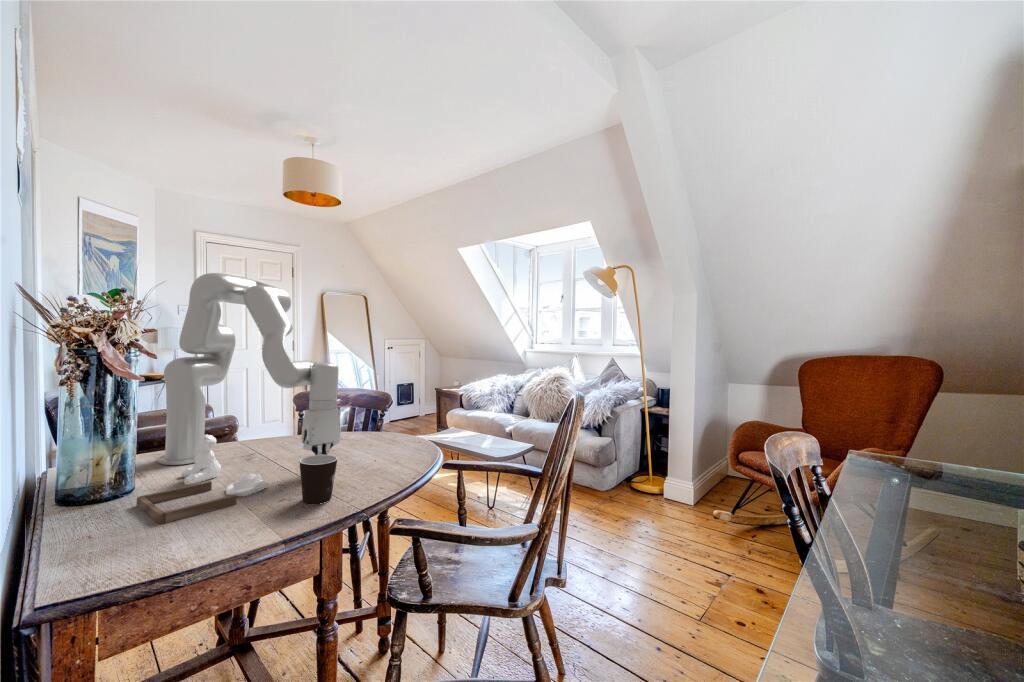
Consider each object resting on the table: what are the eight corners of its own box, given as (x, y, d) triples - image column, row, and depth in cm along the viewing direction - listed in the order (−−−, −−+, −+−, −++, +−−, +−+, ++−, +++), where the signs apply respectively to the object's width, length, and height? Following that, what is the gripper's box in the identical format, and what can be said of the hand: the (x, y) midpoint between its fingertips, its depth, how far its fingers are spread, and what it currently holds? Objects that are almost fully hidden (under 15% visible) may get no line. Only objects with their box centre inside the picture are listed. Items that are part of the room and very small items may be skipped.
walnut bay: (136, 505, 98) (136, 497, 98) (209, 489, 110) (210, 481, 110) (159, 524, 89) (160, 515, 89) (236, 504, 101) (236, 495, 101)
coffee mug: (321, 508, 101) (323, 466, 101) (289, 504, 102) (291, 462, 102) (349, 491, 112) (351, 453, 112) (320, 487, 114) (322, 450, 114)
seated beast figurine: (180, 476, 118) (181, 433, 118) (217, 470, 124) (219, 429, 123) (184, 486, 111) (186, 440, 111) (224, 479, 117) (226, 435, 117)
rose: (267, 478, 107) (221, 482, 104) (267, 496, 107) (221, 500, 104) (272, 466, 117) (230, 469, 113) (271, 482, 117) (229, 486, 113)
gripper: (338, 400, 134) (336, 459, 135) (291, 405, 122) (288, 470, 122) (353, 403, 130) (350, 464, 130) (305, 409, 118) (302, 475, 118)
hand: (320, 466), depth 126 cm, fingers closed
